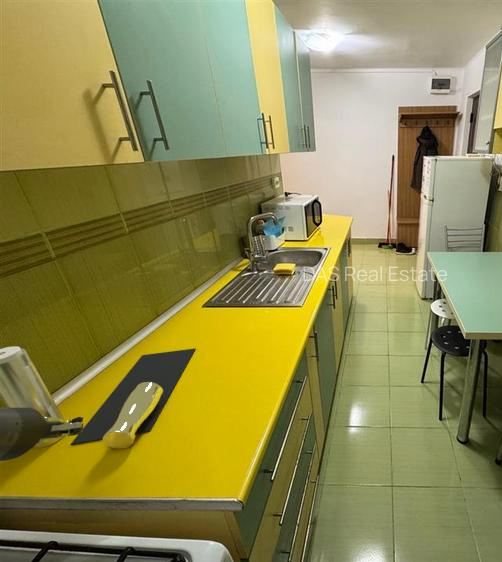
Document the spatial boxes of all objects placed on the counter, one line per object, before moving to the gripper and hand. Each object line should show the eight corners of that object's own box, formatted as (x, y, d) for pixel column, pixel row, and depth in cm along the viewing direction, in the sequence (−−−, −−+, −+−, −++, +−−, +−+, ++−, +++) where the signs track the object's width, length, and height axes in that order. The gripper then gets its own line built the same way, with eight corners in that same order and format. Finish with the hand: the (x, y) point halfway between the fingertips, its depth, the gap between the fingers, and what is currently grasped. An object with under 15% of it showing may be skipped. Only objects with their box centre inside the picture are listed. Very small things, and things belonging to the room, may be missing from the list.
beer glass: (101, 428, 68) (137, 378, 81) (98, 448, 70) (133, 396, 83) (137, 433, 70) (166, 384, 83) (133, 452, 73) (161, 401, 86)
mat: (70, 445, 73) (70, 444, 72) (142, 355, 105) (142, 354, 105) (150, 431, 76) (149, 430, 76) (196, 349, 108) (195, 348, 108)
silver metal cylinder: (41, 451, 71) (-13, 365, 61) (26, 443, 73) (-29, 358, 63) (75, 429, 77) (30, 347, 67) (59, 423, 79) (14, 342, 69)
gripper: (48, 400, 47) (118, 402, 63) (-60, 415, 44) (42, 414, 60) (36, 454, 44) (113, 443, 60) (-79, 475, 41) (33, 457, 57)
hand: (77, 428), depth 60 cm, fingers closed
